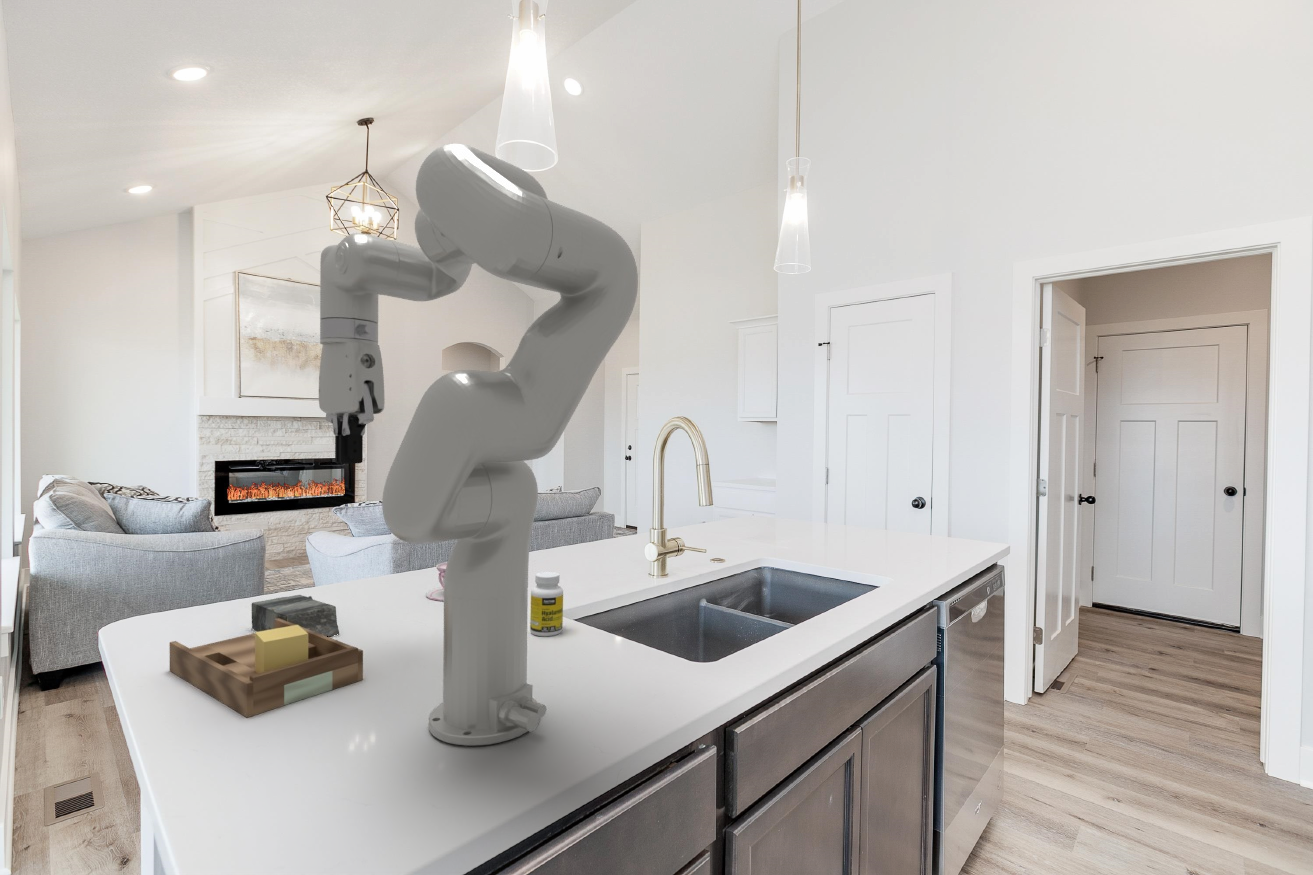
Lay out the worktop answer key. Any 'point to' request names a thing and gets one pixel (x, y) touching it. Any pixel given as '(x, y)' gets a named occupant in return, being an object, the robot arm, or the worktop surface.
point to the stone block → (295, 614)
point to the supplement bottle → (546, 605)
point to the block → (280, 647)
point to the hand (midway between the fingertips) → (348, 462)
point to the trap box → (239, 686)
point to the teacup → (439, 592)
